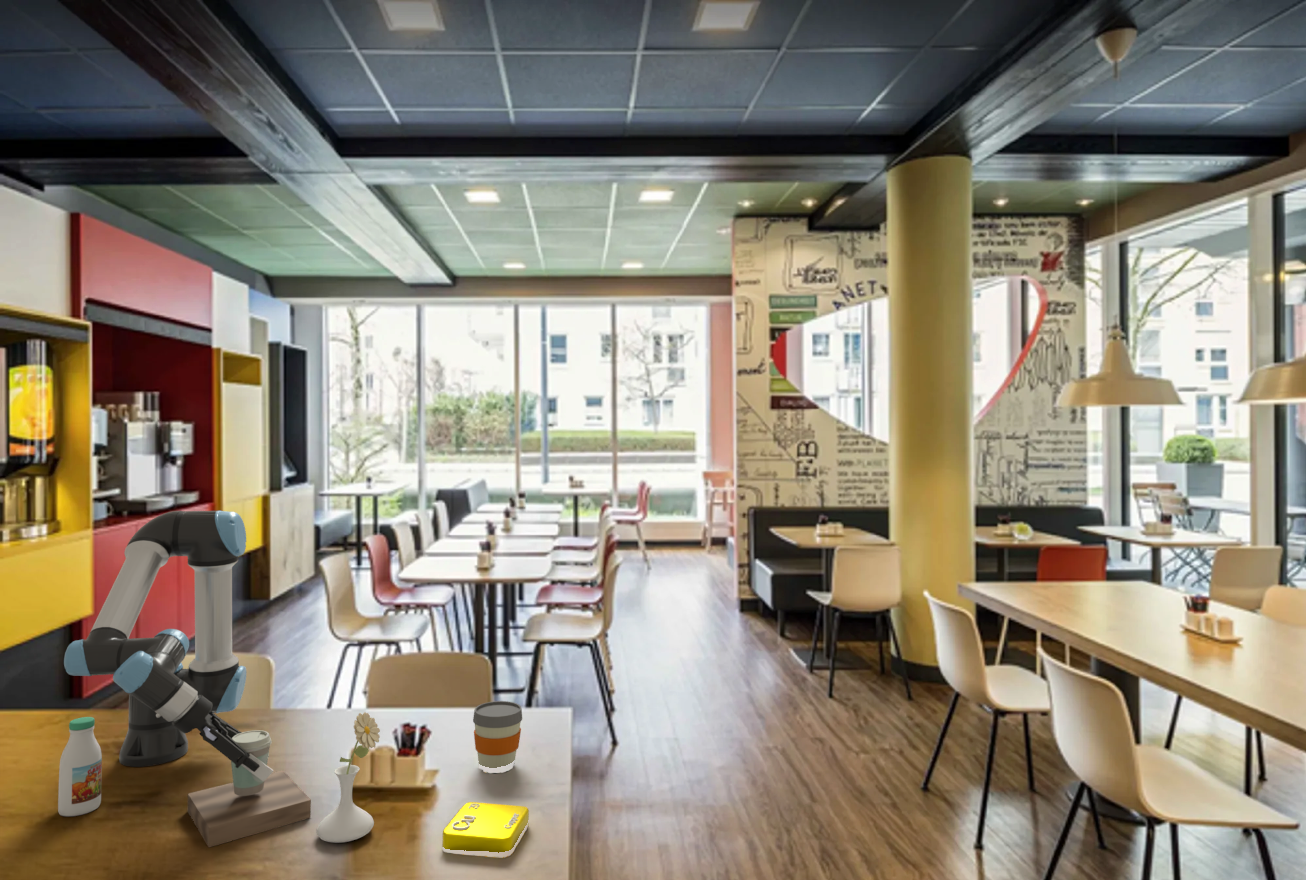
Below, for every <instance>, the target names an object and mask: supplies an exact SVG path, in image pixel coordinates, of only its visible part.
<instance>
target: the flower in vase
mask: <svg viewBox="0 0 1306 880" xmlns="http://www.w3.org/2000/svg"><path fill="white" fill-rule="evenodd" d="M353 723H354V725H353V729H354V734H355V736H356V737H355V740H356V742H355V745H354V749H353V752H352V755H351V758H344V757H340V759H339V762H340V763H348V764H347V765H342V766H339V767H337V768H336V769H335V770H334V774H335V775H336V777H337V778H338V780H339V785H340V787H339V788H340V801H339V803H338V806H337V807H336V808H335V809H334V810H332V811H331V812H330V813H329V814H328V815H326V816H325V817H324V818H323V819H322V820H321V821H320V823H318V826H317V828H316V835H317V836H318V838H319V839H321V840H322V841H325V842H328V843H339V844H340V843H347V842H352V841H354V840H358V839H360V838H362V837H364V836H366V835H367V834H369V833H370V832H371V830H372V829H373V827H374V824H375V821H374V819H373V816H372V815H371V814H370V813H368V812H367V811H366V810H364V809H362V808H361V807H359V806H357V805H356V804H355V803H354V802H353V801H354V800H353V787H354V786H353V785H354V781H355V777H356V776H357V774H358V772H359V771H360V769H361V768H360V767H359V766H358V765H355V764H352V762H353V758H354V755H356V756H357V757H358V758H361V759H363V758H364V757H366V756H367V754H368V753H369V749H375V748H376V743H379V742H380V737H381V736H380V734H379V733H380V732H381V729H380V727H378V726H379V725H378V723H376V720H375V718H374V717H371V716H370V714H369V712H365V711H364V712H363V713H361V712H359V713H358V715H357V716H356V719H355V720H354V722H353ZM358 744H360V745H358Z"/></svg>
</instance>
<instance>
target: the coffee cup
mask: <svg viewBox="0 0 1306 880" xmlns="http://www.w3.org/2000/svg"><path fill="white" fill-rule="evenodd" d="M241 732H242V731H241ZM232 739H233V740H234V741H235V742H236V743H237V744H238V745H239V746H241V747H242V748H243V749H244V750H245V751H246V752H247V753H249V754H250V753H251V754H252V755H254V756H255V757H256V758H258V759H259V760H260V761H262V762H263V763H264V764H266V765H267V766H268V760H269V757H268V755H269V754H270V746H271V745H272V742H273V741H272V738H271V736H270V733H269V732H268V731H266V730H262V729H260V730H259V729H258V730H257V729H256V730H255V729H254V730H247V731H243V732H242V733H239V734H237V735H235V736H233V737H232ZM240 757H241V756H240ZM240 757H239V758H240ZM239 758H238V759H239ZM230 761H231V760H230ZM230 763H231V764H230V765H231V775H232V783H233V786H234V793H235V794H236V795H239V796H248V795H253V794H256V793H258V792H260V791H262V790H263V788H264V782H263V781H262V780H260V779H259V778H258V777H256V776H255V775H254V774H252V773H251V772H250V771H248V770H247V769H245V768H244V767H243V766H241V765H240V767H239V768H236V767H235V766H236V765H235V763H233V762H232V761H231V762H230Z"/></svg>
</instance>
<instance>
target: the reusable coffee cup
mask: <svg viewBox="0 0 1306 880" xmlns="http://www.w3.org/2000/svg"><path fill="white" fill-rule="evenodd" d="M522 710H523V709H522V706H521V705H520V704H519V703H518V702H517V703H516V702H514V701H508V700H507V701H506V700H498V701H497V700H495V701H493V700H492V701H488V702H484V703H481V704H479V705H477V706H476V707H475V708H474V711H473V717H472V721H473V724H474V731H473V738H474V746H475V748H474V749H475V751H476V752H477V759H478V761H479V762H478V765H479V764H480V765H482V766H485V767H489V768H497V767H501V766H506V765H508V764H510V763H512V762H513V761H514V760H515V761H516V756H517V750H518V749H519V745H520V738H521V732H522V728H521V722H522V721H523V712H522Z"/></svg>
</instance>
